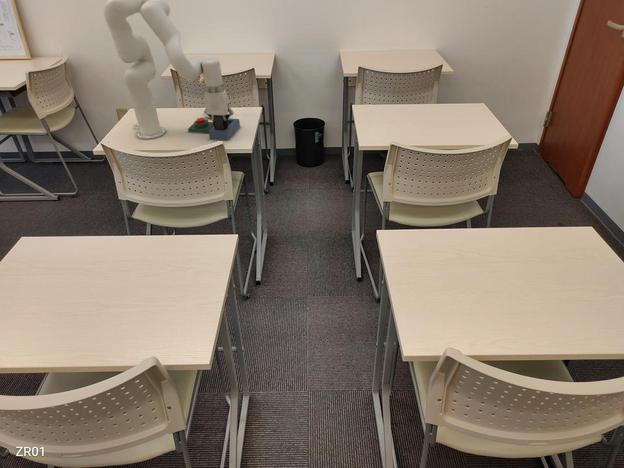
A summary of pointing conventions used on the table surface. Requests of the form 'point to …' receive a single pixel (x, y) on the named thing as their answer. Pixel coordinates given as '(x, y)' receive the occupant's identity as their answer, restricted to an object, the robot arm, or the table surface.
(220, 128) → the charger
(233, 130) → the blue tray
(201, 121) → the power button
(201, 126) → the switch box
